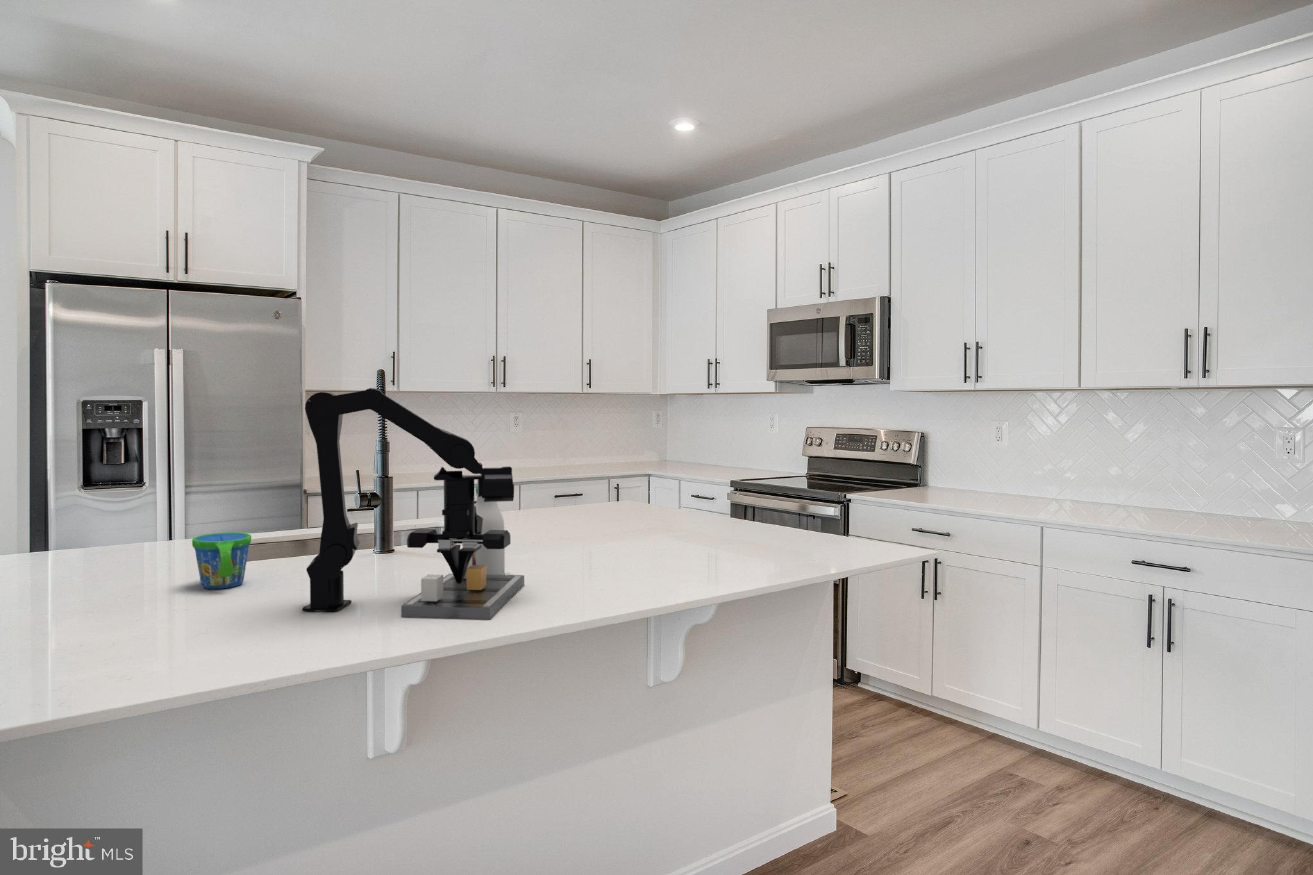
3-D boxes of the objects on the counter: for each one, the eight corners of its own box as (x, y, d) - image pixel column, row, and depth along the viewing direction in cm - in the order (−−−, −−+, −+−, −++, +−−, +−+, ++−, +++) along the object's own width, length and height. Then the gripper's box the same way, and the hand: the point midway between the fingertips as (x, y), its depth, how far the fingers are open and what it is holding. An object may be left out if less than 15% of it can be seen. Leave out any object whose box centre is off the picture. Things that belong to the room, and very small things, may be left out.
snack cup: (252, 591, 155) (251, 540, 154) (190, 597, 150) (189, 544, 150) (251, 575, 169) (251, 529, 168) (195, 580, 164) (194, 532, 163)
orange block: (481, 589, 148) (481, 569, 148) (466, 589, 148) (466, 568, 148) (486, 585, 152) (486, 565, 151) (472, 585, 152) (472, 564, 152)
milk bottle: (508, 573, 174) (508, 484, 173) (498, 580, 166) (498, 487, 165) (475, 571, 174) (475, 483, 173) (463, 579, 167) (463, 487, 166)
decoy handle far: (467, 578, 157) (466, 558, 157) (453, 578, 158) (453, 558, 157) (472, 574, 161) (472, 555, 161) (459, 574, 161) (459, 555, 161)
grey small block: (436, 601, 139) (436, 579, 139) (421, 600, 140) (421, 578, 139) (443, 596, 143) (443, 574, 143) (428, 595, 143) (428, 574, 143)
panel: (490, 619, 137) (490, 607, 137) (401, 617, 138) (401, 605, 138) (524, 584, 163) (524, 575, 163) (449, 582, 164) (449, 573, 163)
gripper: (517, 498, 157) (517, 574, 158) (426, 497, 158) (427, 573, 159) (503, 505, 146) (503, 587, 147) (405, 504, 147) (406, 585, 148)
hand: (459, 583), depth 150 cm, fingers closed
